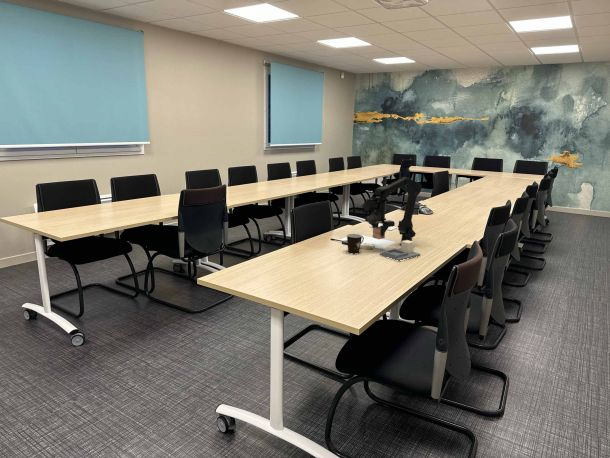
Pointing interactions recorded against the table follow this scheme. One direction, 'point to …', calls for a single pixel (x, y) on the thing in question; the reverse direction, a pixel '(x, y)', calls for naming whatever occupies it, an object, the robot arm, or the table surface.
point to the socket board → (401, 251)
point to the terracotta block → (377, 233)
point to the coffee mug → (354, 242)
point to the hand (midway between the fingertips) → (378, 235)
